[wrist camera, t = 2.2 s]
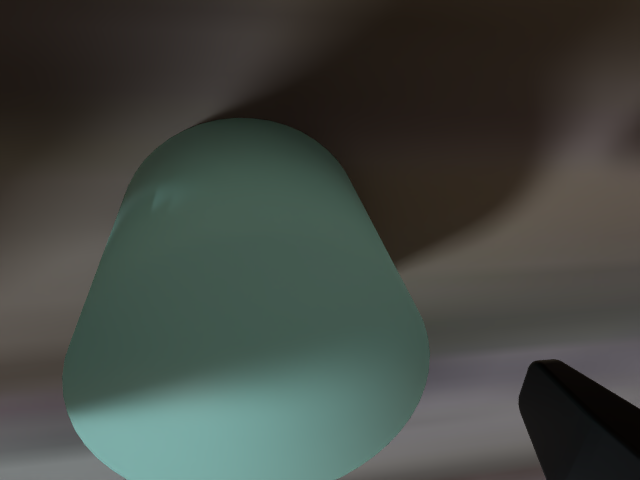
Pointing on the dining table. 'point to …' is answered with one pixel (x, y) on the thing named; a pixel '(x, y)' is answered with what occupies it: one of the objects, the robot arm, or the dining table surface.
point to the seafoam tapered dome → (243, 317)
